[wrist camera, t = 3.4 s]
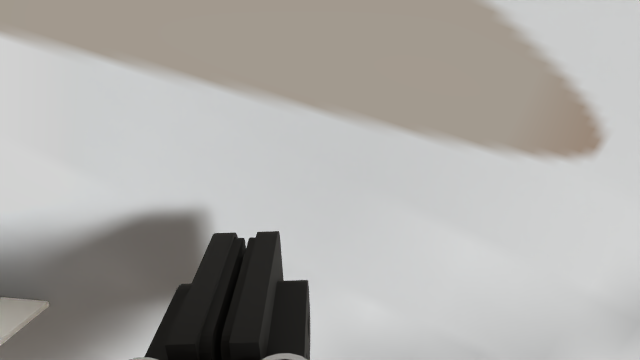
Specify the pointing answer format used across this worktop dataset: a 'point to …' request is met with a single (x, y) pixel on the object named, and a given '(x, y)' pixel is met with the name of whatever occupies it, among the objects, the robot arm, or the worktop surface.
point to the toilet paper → (17, 315)
